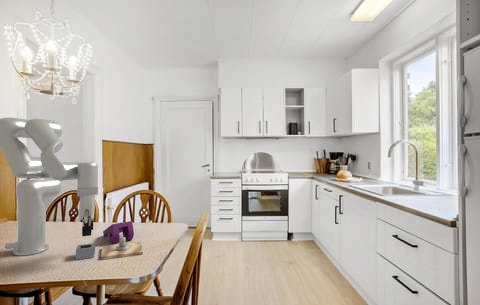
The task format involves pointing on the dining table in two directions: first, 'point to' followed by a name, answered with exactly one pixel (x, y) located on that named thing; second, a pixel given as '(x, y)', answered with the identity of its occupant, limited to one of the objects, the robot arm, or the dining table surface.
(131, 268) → the dining table surface
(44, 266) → the dining table surface
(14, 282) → the dining table surface
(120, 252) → the hub board
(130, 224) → the mounting bracket
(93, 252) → the collar
